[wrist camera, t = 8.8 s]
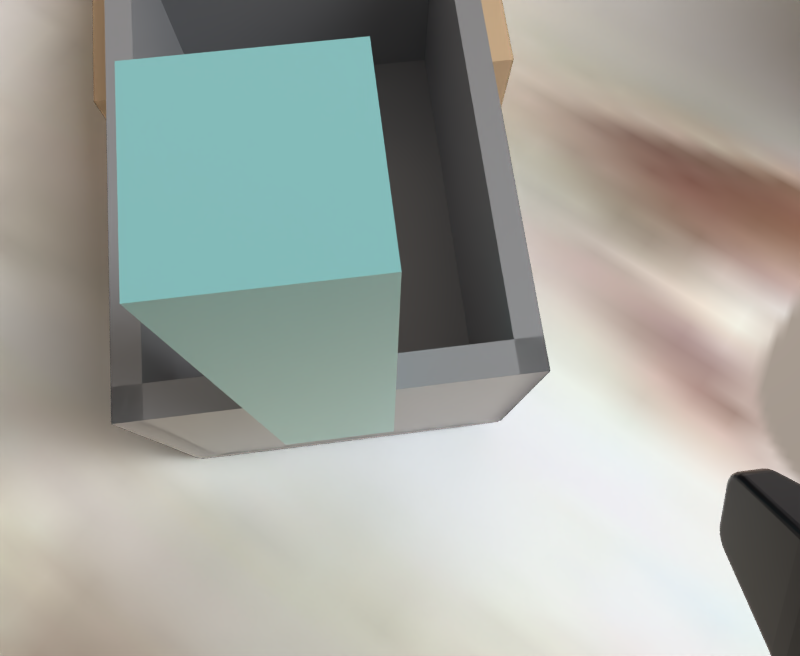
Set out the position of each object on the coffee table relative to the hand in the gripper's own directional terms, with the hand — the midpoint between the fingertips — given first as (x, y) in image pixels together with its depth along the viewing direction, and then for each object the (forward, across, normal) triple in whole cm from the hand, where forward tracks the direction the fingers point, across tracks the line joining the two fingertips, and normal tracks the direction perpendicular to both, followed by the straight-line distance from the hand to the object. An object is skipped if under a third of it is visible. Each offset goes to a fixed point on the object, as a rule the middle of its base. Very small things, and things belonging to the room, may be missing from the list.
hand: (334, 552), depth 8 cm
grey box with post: (+12, 0, 0) cm, 12 cm away
